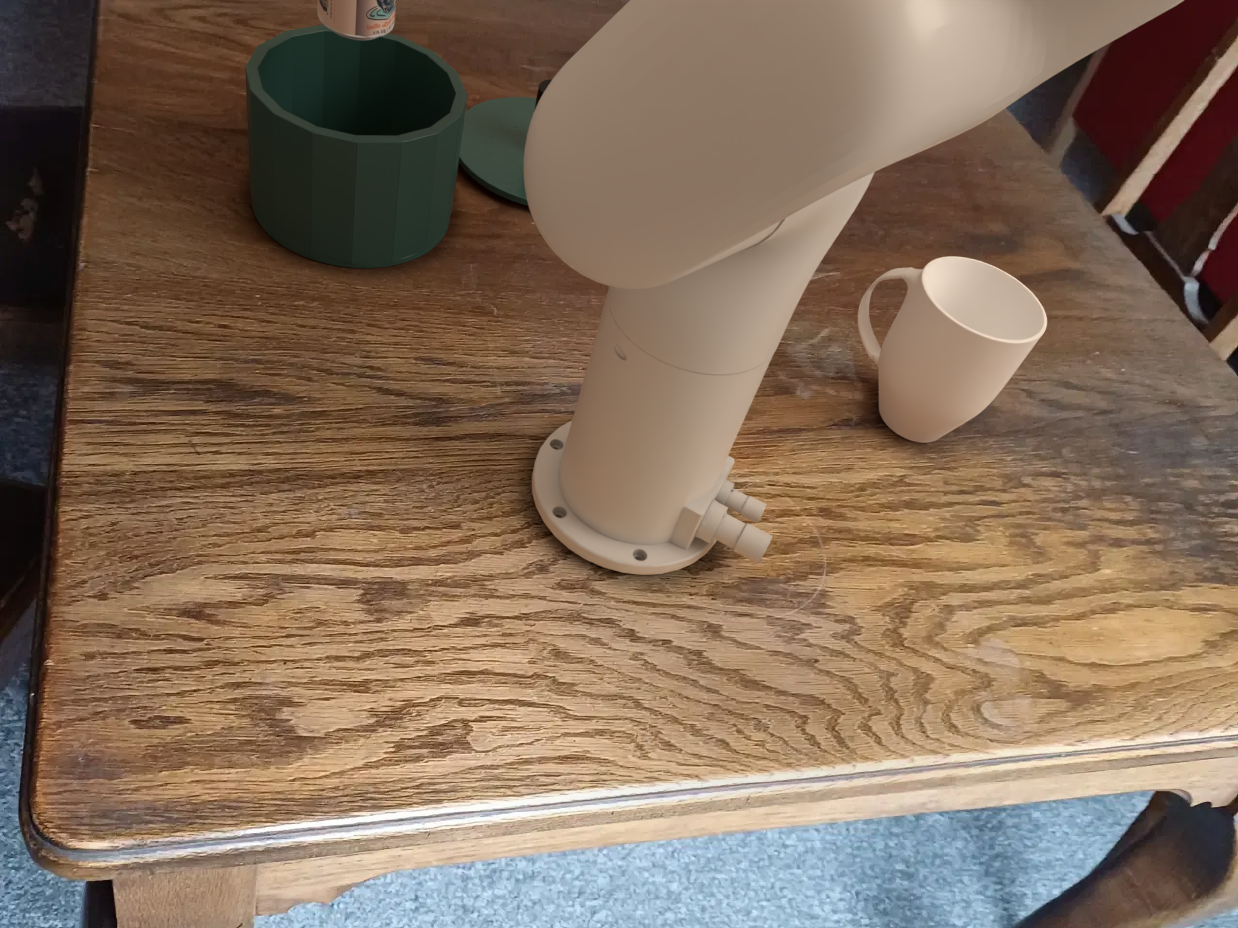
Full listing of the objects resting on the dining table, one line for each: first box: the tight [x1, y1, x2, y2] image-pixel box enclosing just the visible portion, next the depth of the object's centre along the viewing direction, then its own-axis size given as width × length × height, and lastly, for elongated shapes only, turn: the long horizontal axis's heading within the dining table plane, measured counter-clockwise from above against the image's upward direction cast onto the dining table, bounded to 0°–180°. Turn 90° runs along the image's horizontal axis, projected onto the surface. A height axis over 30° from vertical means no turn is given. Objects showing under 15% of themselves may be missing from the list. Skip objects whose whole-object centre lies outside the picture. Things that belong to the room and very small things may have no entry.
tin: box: [244, 24, 468, 269], centre depth 78 cm, size 15×15×10 cm
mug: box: [857, 255, 1048, 444], centre depth 76 cm, size 12×9×12 cm
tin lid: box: [458, 78, 553, 207], centre depth 89 cm, size 16×16×7 cm
